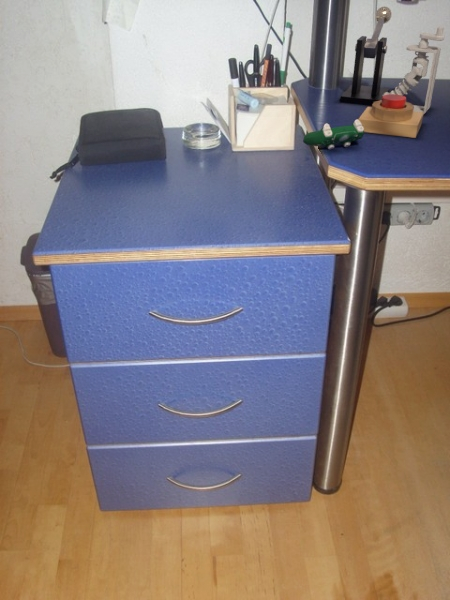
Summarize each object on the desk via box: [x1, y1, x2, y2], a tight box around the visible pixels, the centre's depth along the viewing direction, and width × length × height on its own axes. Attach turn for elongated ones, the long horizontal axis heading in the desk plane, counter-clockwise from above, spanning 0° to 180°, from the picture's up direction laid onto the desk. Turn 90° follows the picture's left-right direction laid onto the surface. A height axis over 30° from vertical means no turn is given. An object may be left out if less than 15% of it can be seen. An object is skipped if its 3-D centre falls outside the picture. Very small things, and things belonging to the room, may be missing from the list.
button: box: [381, 94, 407, 109], centre depth 103 cm, size 4×4×2 cm
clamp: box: [383, 26, 445, 115], centre depth 111 cm, size 4×10×15 cm, turn 62°
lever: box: [364, 6, 392, 60], centre depth 119 cm, size 14×3×3 cm, turn 157°
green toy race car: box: [302, 118, 365, 150], centre depth 96 cm, size 9×4×6 cm
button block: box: [358, 100, 425, 139], centre depth 104 cm, size 10×8×4 cm
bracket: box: [339, 35, 390, 106], centre depth 119 cm, size 10×8×11 cm
